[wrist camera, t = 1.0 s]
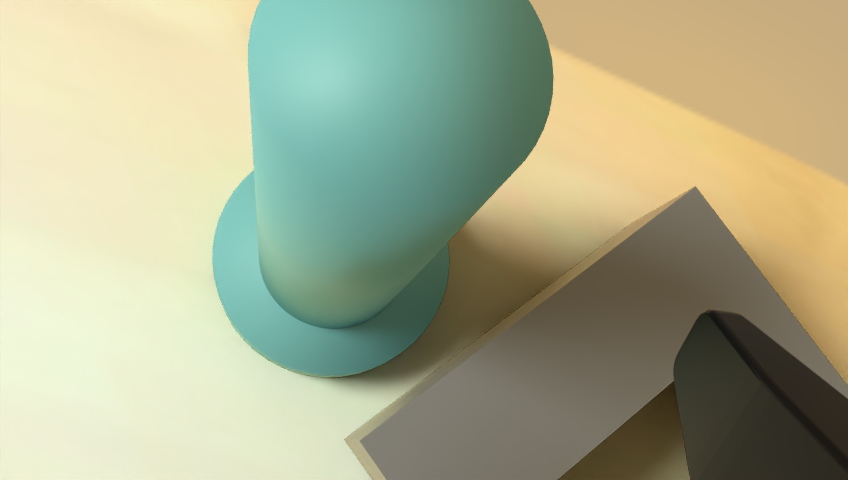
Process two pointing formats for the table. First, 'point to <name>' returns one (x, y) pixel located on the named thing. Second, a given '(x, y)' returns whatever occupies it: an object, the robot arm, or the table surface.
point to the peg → (370, 167)
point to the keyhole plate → (579, 356)
